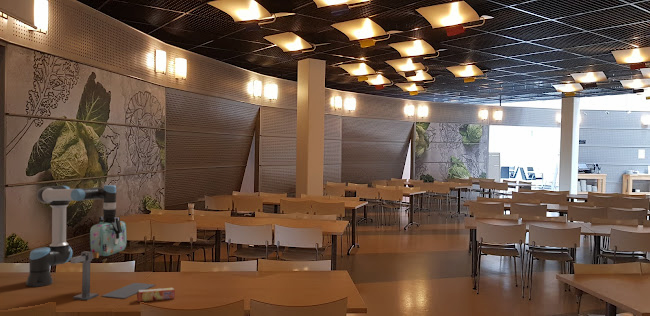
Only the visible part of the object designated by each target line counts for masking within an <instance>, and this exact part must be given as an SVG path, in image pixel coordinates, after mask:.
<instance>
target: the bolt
mask: <svg viewBox="0 0 650 316" xmlns="http://www.w3.org/2000/svg"><path fill="white" fill-rule="evenodd" d="M99 258H100V256H99V252H92V260H93V259H99ZM86 260H87V254H84V255H81V254H80V255H77V256H72V258H71V259H70V264H78V263H81V262H82V263H83V261H86Z"/></svg>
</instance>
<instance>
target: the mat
mask: <svg viewBox="0 0 650 316" xmlns="http://www.w3.org/2000/svg"><path fill="white" fill-rule="evenodd" d="M155 286H156V284H155V283H154V284H152V283H143V282H133V283H130V284H128V285H125V286H123V287H120V288H117V289H115V290H112V291H110V292H108V293H105V294H102V295H101V297H104V298H110V299H111V298H112V299H123V300H125V299H127V298H130V297H132V296H135V295H136V294H137V292H138V290H149V289H150V288H151V289H152V288H153V287H155Z"/></svg>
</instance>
